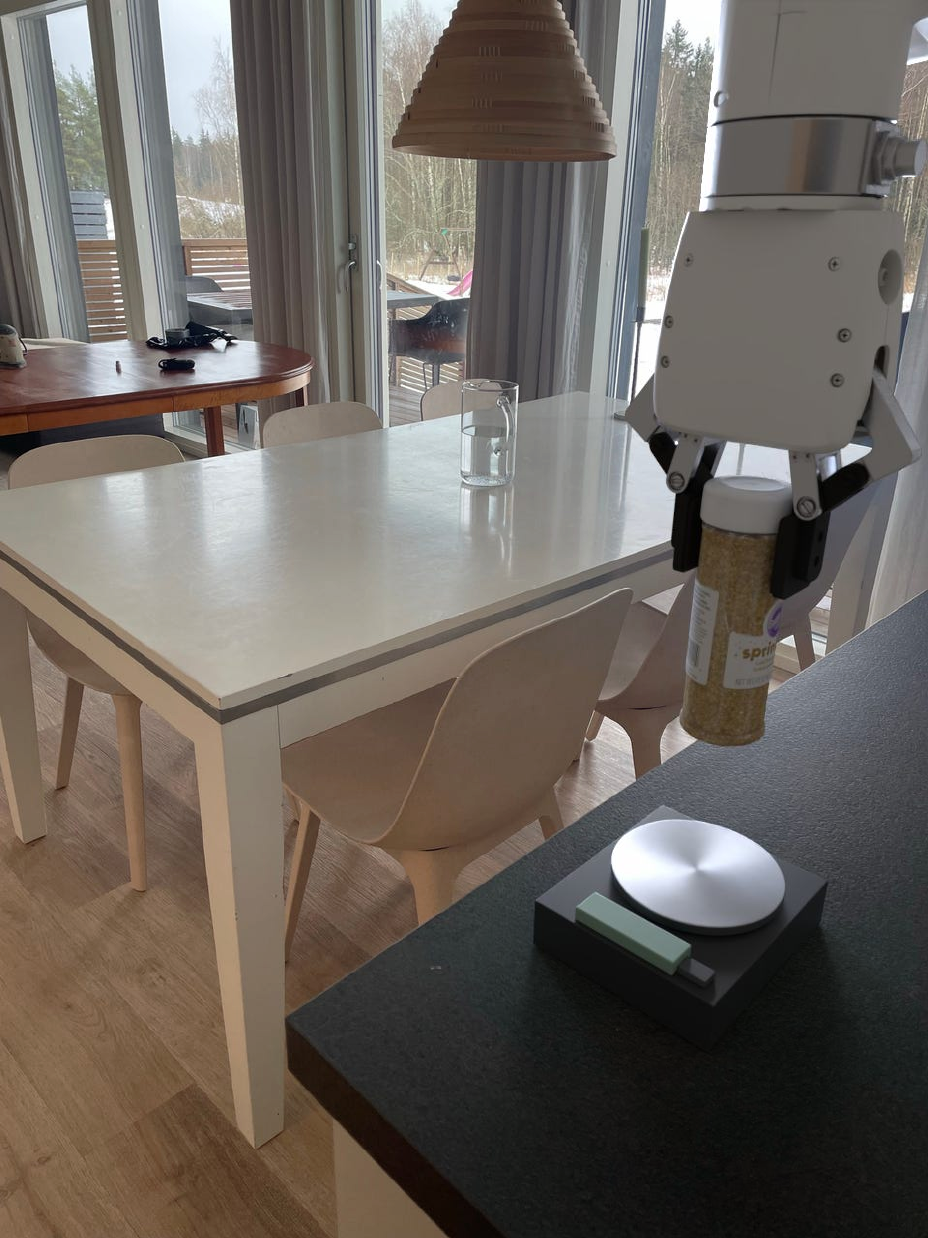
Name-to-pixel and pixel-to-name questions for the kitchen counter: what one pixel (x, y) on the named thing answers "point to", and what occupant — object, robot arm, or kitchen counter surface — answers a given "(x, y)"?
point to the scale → (671, 946)
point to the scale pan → (698, 877)
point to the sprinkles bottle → (734, 610)
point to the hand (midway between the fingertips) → (740, 574)
